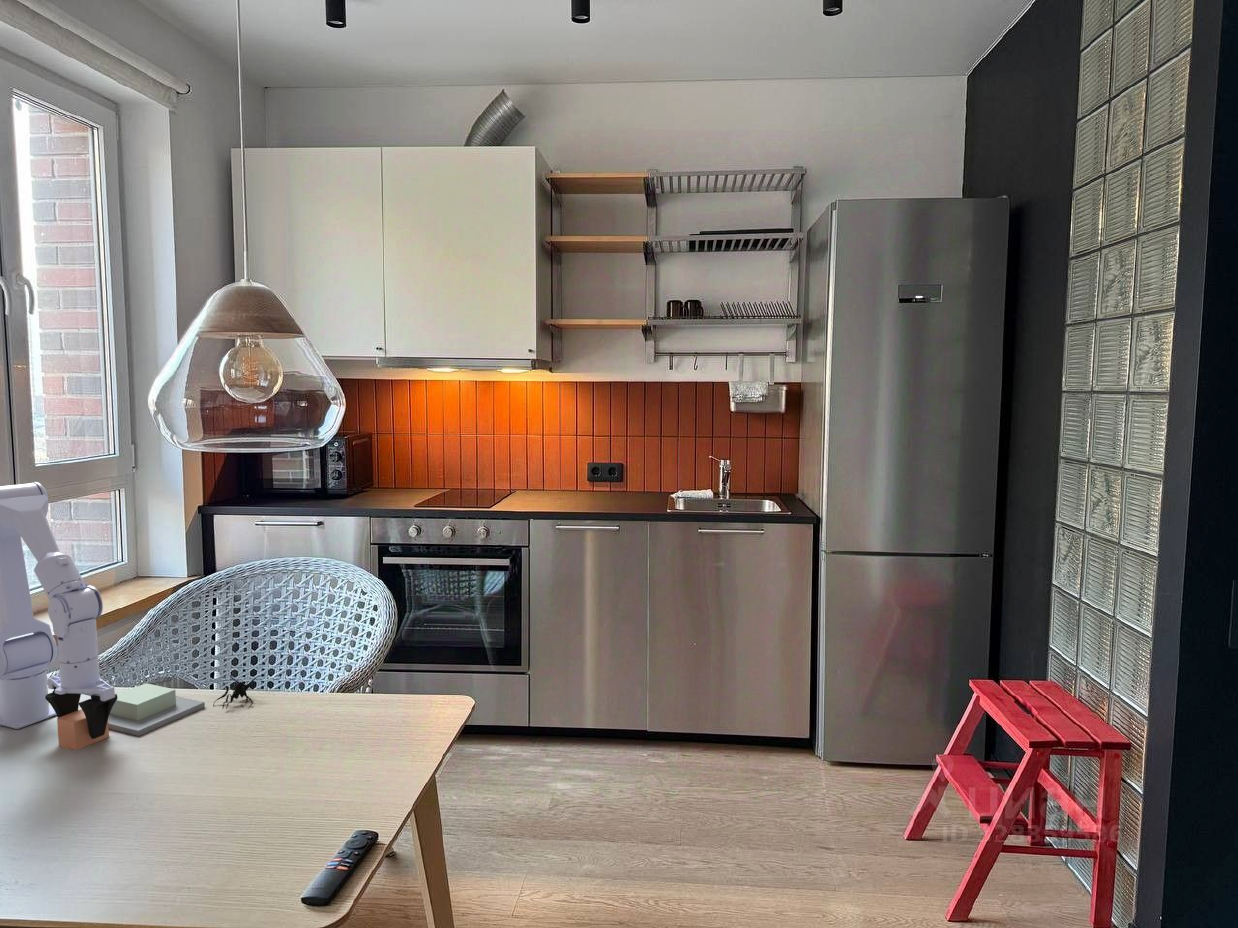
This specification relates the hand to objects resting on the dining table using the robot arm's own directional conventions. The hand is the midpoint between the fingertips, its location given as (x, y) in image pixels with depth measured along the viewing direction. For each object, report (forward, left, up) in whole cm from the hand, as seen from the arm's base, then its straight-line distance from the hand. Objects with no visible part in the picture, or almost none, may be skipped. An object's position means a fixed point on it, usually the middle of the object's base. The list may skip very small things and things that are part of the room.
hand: (83, 732), depth 144 cm
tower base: (-1, +12, -1) cm, 12 cm away
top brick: (0, 0, -2) cm, 2 cm away
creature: (+11, +22, -2) cm, 25 cm away
